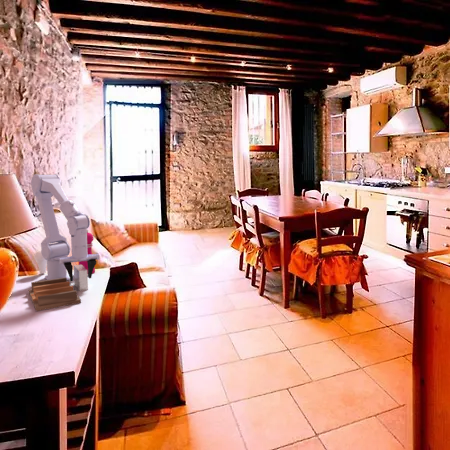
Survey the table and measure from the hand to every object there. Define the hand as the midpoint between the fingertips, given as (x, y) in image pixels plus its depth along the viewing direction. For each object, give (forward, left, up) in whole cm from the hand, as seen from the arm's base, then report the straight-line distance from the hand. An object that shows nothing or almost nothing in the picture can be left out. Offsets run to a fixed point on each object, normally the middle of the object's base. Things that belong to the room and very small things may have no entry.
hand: (80, 279), depth 138 cm
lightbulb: (-26, -10, -3) cm, 28 cm away
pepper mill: (-18, +7, -3) cm, 20 cm away
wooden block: (0, 0, -3) cm, 3 cm away
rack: (+7, -11, -3) cm, 13 cm away
